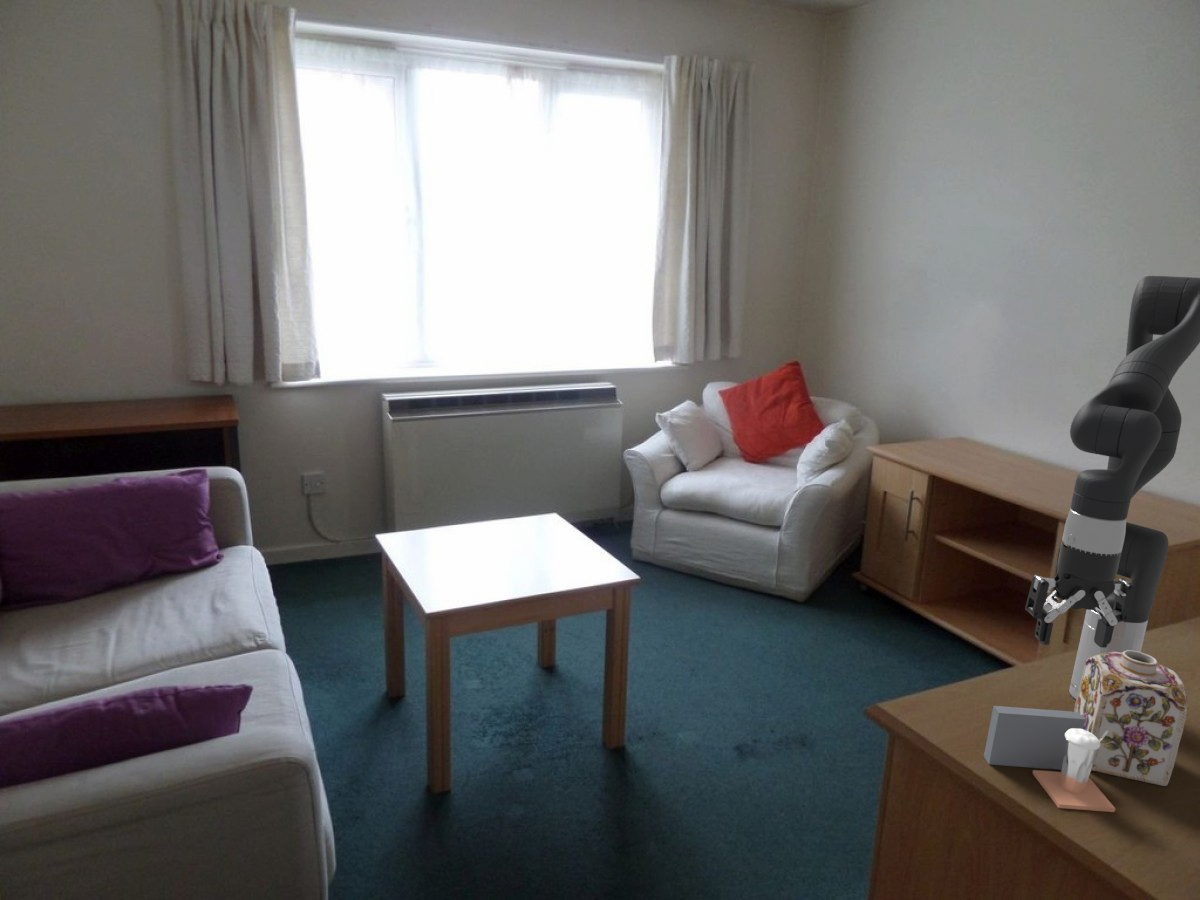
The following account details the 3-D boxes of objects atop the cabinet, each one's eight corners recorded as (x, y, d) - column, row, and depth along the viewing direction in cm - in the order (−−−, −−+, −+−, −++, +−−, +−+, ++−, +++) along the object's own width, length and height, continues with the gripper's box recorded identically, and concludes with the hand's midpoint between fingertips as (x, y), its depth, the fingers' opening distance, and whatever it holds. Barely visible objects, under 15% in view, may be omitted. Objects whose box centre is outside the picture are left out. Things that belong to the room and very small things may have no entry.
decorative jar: (1082, 770, 128) (1106, 665, 124) (1067, 730, 139) (1088, 633, 134) (1171, 789, 124) (1199, 682, 120) (1148, 747, 135) (1173, 647, 131)
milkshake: (1099, 800, 120) (1114, 739, 117) (1060, 793, 121) (1073, 733, 118) (1088, 781, 124) (1102, 722, 122) (1050, 775, 125) (1063, 716, 123)
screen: (1067, 762, 129) (1078, 712, 127) (1073, 770, 128) (1085, 719, 125) (983, 756, 130) (993, 705, 128) (988, 764, 128) (998, 712, 126)
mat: (1085, 777, 126) (1086, 773, 126) (1114, 812, 118) (1115, 808, 118) (1032, 773, 126) (1033, 769, 126) (1058, 807, 119) (1059, 804, 118)
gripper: (1126, 535, 122) (1104, 634, 127) (1029, 531, 123) (1011, 630, 127) (1158, 554, 115) (1134, 658, 119) (1056, 549, 115) (1035, 654, 119)
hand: (1071, 643), depth 123 cm, fingers open, 8 cm apart
